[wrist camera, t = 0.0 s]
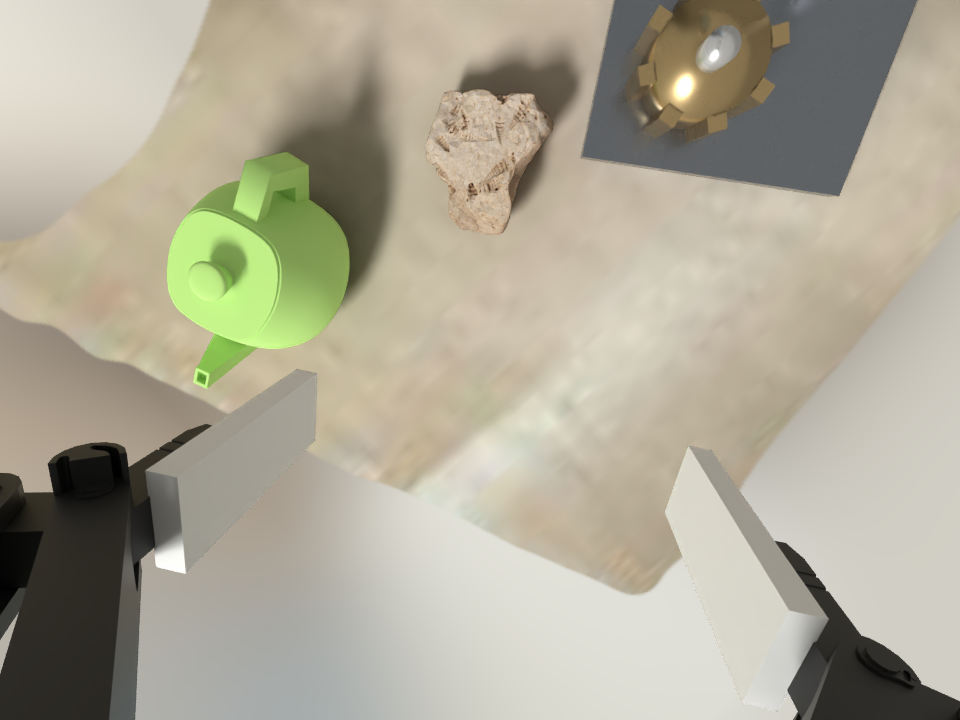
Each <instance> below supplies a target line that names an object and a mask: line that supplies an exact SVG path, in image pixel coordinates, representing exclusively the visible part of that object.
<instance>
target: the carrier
mask: <svg viewBox="0 0 960 720" xmlns="http://www.w3.org/2000/svg"><path fill="white" fill-rule="evenodd" d="M916 1H917V0H614V1H613V6H612V11H611V15H610V20H609V25H608V30H607V34H606V39H605V44H604V49H603V54H602V58H601V63H600V68H599V73H598V77H597V82H596V87H595V92H594V97H593V101H592V106H591V111H590V116H589V120H588V125H587V130H586V135H585V140H584V144H583V149H582V154H581V159H588V160H594V161H601V162H607V163H614V164H620V165H627V166H633V167H640V168H646V169H653V170H659V171H666V172H672V173H679V174H685V175H692V176H698V177H705V178H711V179H718V180H724V181H730V182H737V183H743V184H750V185H756V186H763V187H769V188H776V189H782V190H789V191H795V192H802V193H808V194H815V195H821V196H839V195H840V193H841V190H842V188H843V185H844V183H845V180H846V177H847V175H848V172H849V170H850V167H851V165H852V162H853V160H854V157H855V155H856V152H857V150H858V147H859V145H860V142H861V140H862V137H863V135H864V132H865V130H866V127H867V125H868V122H869V120H870V117H871V115H872V112H873V110H874V107H875V105H876V102H877V99H878V97H879V94H880V92H881V89H882V87H883V84H884V82H885V79H886V77H887V74H888V72H889V69H890V67H891V64H892V62H893V59H894V57H895V54H896V52H897V49H898V47H899V44H900V42H901V39H902V37H903V34H904V32H905V29H906V27H907V24H908V21H909V19H910V16H911V14H912V11H913V9H914V6H915V4H916Z"/></svg>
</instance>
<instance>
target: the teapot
mask: <svg viewBox="0 0 960 720" xmlns="http://www.w3.org/2000/svg"><path fill="white" fill-rule="evenodd" d="M349 265H350V258H349V248H348V244H347V240H346V237H345V235H344V232H343V231H342V229H341V227H340V226H339V224H338V223H337V222H336V221H335V219H334V218H333V217H332V216H331V215H329V214H328V213H327V212H326V211H325V210H323V209H322V208H321V207H319V206H318V205H317V204H315V203H314V202H312V201H311V200H309V165H308V164H306V163H304V162H303V161H301V160H299V159H298V158H296V157H295V156H293V155H291V154H290V153H288V152H283V153H279V154H274V155H270V156H265V157H261V158H256V159H252V160H247V161H245V165H244V169H243V172H242V176H241V180H240V181H235V182H232V183H228V184H226V185H223V186H221V187H219V188H217V189H215V190H213V191H212V192H210V193H209V194H208V195H206V196H205V197H204V198H203V199H201V200H200V201H199V202H198V203H197V204H196V205H195V206H194V208H193V209H192V210H191V211H190V212H189V213H188V214H187V215H186V217H185V218H184V220H183V221H182V223H181V224H180V226H179V227H178V229H177V231H176V233H175V236H174V238H173V241H172V243H171V247H170V250H169V256H168V264H167V283H168V289H169V293H170V296H171V299H172V301H173V303H174V304H175V306H176V307H177V308H178V309H179V311H180V312H181V313H183V314H184V315H185V316H186V317H188V318H189V319H190V320H192V321H193V322H195V323H197V324H198V325H200V326H202V327H204V328H205V329H207V330H209V331H211V332H213V333H215V334H214V336H213V338H212V340H211V342H210V344H209V346H208V348H207V350H206V352H205V354H204V356H203V358H202V360H201V362H200V364H199V366H197V367H196V370H195V375H194V381H193V382H194V383H196V384H198V385H200V386H202V387H204V388H206V389H207V388H209V387H210V386H211V385H212V384H214V383H215V382H216V381H217V380H218V379H220V378H221V377H222V376H223V375H225V374H226V373H227V372H228V371H229V370H231V369H232V368H233V367H234V366H236V365H237V364H238V363H239V362H240V361H242V360H243V359H244V358H245V357H247V356H248V355H249V354H250V353H251V352H253V351H254V350H255V349H256V348H258V347H259V348H268V349H279V348H287V347H292V346H295V345H299V344H302V343H304V342H306V341H308V340H310V339H312V338H314V337H315V336H316V335H318V334H319V333H320V332H321V331H322V330H323V329H324V328H325V327H326V326H327V325H328V324H329V322H330V321H331V320H332V319H333V317H334V315H335V314H336V312H337V311H338V309H339V307H340V304H341V302H342V300H343V297H344V294H345V292H346V288H347V283H348V277H349Z"/></svg>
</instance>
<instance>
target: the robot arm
mask: <svg viewBox="0 0 960 720" xmlns="http://www.w3.org/2000/svg"><path fill="white" fill-rule="evenodd" d="M316 397H317V373H314V372H309V371H304V370H299V369H296V370H295V371H293V372H292V373H290V374H289V375H287V376H286V377H284V378H283V379H281V380H280V381H278V382H277V383H275V384H274V385H272V386H271V387H269V388H268V389H266V390H265V391H263V392H262V393H260V394H259V395H257V396H256V397H254V398H253V399H251V400H250V401H249V402H247V403H246V404H244V405H243V406H241V407H240V408H238V409H237V410H235V411H234V412H232V413H231V414H229V415H228V416H226V417H225V418H223V419H222V420H220V421H219V422H217V423H216V424H214V425H208V424H204V425H202V426H199V427H196V428H193V429H190V430H187V431H185V432H184V433H182V434H181V435H179V436H177V437H176V438H175V439H173V440H172V441H171V442H168V443H166V444H165V445H163V446H162V447H160V449H159V450H155V451H154V452H152V453H150V454H149V455H147V456H146V457H144V458H143V459H141V460H140V461H138V462H137V463H135V464H133V465H132V466H130V467H128V460H127V453H126V450H125V448H124V447H123V446H121V445H119V444H115V443H108V442H101V443H90V444H85V445H80V446H76V447H73V448H70V449H68V450H65V451H63V452H61V453H59V454H58V455H56V456H54V457H53V458H52V459H51V460H50V462H49V463H48V467H49V472H50V477H51V482H52V487H53V492H52V493H51V492H49V493H47V492H45V493H44V492H43V493H24V490H23V486H22V482H21V480H20V478H19V476H16V475H13V474H10V473H0V639H1V638H2V636H3V635H4V633H5V632H6V630H7V629H8V627H9V626H10V624H11V622H12V621H13V620H14V618H15V617H16V615H17V614H18V612H19V614H18V617H17V621H16V624H15V627H14V631H13V634H12V637H11V640H10V644H9V647H8V650H7V654H6V657H5V660H4V663H3V667H2V670H1V673H0V720H135V710H136V686H137V665H138V643H139V642H138V641H139V621H140V620H139V619H140V599H141V577H142V569H141V559H142V558H143V557H144V556H145V555H146V554H147V553H148V552H150V551H151V550H152V549H153V548H154V551H155V560H156V567H159V568H163V569H167V570H172V571H176V572H180V573H187V572H188V571H189V570H190V569H191V568H192V567H193V566H194V565H195V564H196V563H197V562H198V561H199V559H201V558H202V557H203V556H204V554H205V553H206V552H207V551H208V550H209V549H210V548H211V547H212V546H213V545H214V544H215V543H216V542H217V541H218V540H219V539H220V538H221V537H222V536H223V535H224V533H226V532H227V530H229V529H230V528H231V526H233V525H234V523H235V522H236V521H237V520H238V519H239V518H240V517H241V516H242V515H243V514H244V513H245V512H246V511H247V510H248V509H249V508H250V507H251V506H252V505H253V504H254V503H255V502H256V501H257V500H258V499H259V498H260V497H261V496H262V494H263V493H264V492H265V491H266V490H267V489H268V488H269V487H270V486H271V485H272V484H273V483H274V482H275V481H276V480H277V479H278V478H279V477H280V476H281V475H282V474H283V473H284V472H285V470H287V469H288V468H289V466H291V465H292V463H293V462H294V461H295V460H296V459H297V458H298V457H299V456H300V455H301V454H302V453H303V452H304V451H305V450H306V449H307V448H308V447H309V446H310V445H311V444H312V443H313V442H314V441H315V427H316ZM665 514H666V516H667V519H668V521H669V524H670V526H671V529H672V531H673V534H674V536H675V539H676V541H677V544H678V546H679V549H680V551H681V554H682V556H683V559H684V561H685V564H686V566H687V569H688V571H689V574H690V576H691V579H692V581H693V584H694V585H695V589H696V591H697V594H698V596H699V598H700V601H701V603H702V606H703V608H704V611H705V613H706V616H707V618H708V621H709V623H710V626H711V628H712V631H713V633H714V636H715V638H716V641H717V643H718V646H719V648H720V651H721V653H722V656H723V658H724V661H725V663H726V666H727V668H728V671H729V673H730V676H731V678H732V680H733V683H734V685H735V688H736V690H737V693H738V695H739V698H740V700H741V703H742V704H747V705H751V706H755V707H759V708H764V709H768V710H773V711H776V712H777V711H778V710H779V708H780V706H781V704H782V703H783V701H784V699H785V697H786V695H787V693H789V695H790V697H791V699H792V701H793V702H794V704H795V706H796V708H797V710H798V713H797V714H796V716H795V718H794V719H793V720H960V701H958V700H956V699H954V698H951V697H949V696H947V695H945V694H942V693H940V692H938V691H935V690H933V689H931V688H929V687H927V686H924V685H922V684H921V681H920V680H919V678H918V677H917V675H916V674H915V673H914V671H913V670H912V669H911V668H910V666H908V665H907V664H906V663H905V662H904V661H903V660H902V659H901V658H900V657H899V656H898V655H896V654H894V653H893V652H892V651H891V650H889V649H887V648H886V647H885V646H883V645H882V644H880V643H878V642H876V641H874V640H872V639H870V638H867V637H864V636H861V635H860V633H859V632H858V631H857V629H856V628H855V627H854V625H853V624H852V622H851V621H850V620H849V618H848V617H847V616H846V614H845V613H844V612H843V610H842V609H841V608H840V606H839V605H838V604H837V602H836V601H835V600H834V598H833V597H832V596H831V594H830V593H829V592H828V591H826V588H825V586H824V585H823V584H822V582H821V581H820V580H819V578H816V574H815V573H814V571H813V570H812V569H811V567H810V566H809V565H808V563H807V562H806V561H805V559H804V558H803V557H801V556H800V555H799V554H798V553H796V551H794V550H793V549H792V548H791V547H789V545H787V544H786V543H783V542H777V541H774V540H773V538H772V537H771V535H770V534H769V532H768V531H767V529H766V528H765V527H764V525H763V524H762V522H761V521H760V519H759V518H758V517H757V515H756V514H755V512H754V511H753V509H752V508H751V507H750V505H749V504H748V502H747V501H746V499H745V498H744V496H743V495H742V493H741V492H740V491H739V489H738V488H737V486H736V485H735V483H734V482H733V481H732V479H731V478H730V476H729V475H728V473H727V472H726V470H725V469H724V468H723V466H722V465H721V463H720V462H719V460H718V459H717V458H716V456H715V455H714V453H713V452H712V450H707V449H702V448H697V447H692V446H688V448H687V451H686V454H685V457H684V460H683V462H682V465H681V468H680V471H679V474H678V477H677V479H676V482H675V485H674V488H673V491H672V494H671V496H670V499H669V502H668V505H667V508H666V511H665Z"/></svg>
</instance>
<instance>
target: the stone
mask: <svg viewBox="0 0 960 720" xmlns="http://www.w3.org/2000/svg"><path fill="white" fill-rule="evenodd" d="M552 130H553V121H552V120H551V119H550V117H549V116H548V115H547V113H546V112H545V111H543V110H542V109H541V108H540V107H539V105H538V102H537V101H536V98H535V95H534V93H521V94H518V93H511V94H509V95H507V96H506V95H503V96H502V95H500V94H499V95H496V96H495V95H494V94H493V92H490V91H487V90H482V89H476V90H470V91H467V92H464V93H461V92H459V91H448V92H445V93H444V95H443V97H442V100H441V103H440V107H439V110H438V113H437V116H436V118H435V120H434V122H433V124H432V127H431V130H430V134H429V137H428V140H427V143H426V159H427V161H428V162H429V163H431V164H432V165H433V164H435V165H436V171H437V173H438V175H439V176H440V177H441V179H442V180H443V181H445V182H446V183H447V184H449V185H448V187H449V192H450V196H449V214H450V217H451V218H452V219H453V220H454V222H455V223H456V224H457V225H458V226H459V227H460V228H461V229H464V230H472V231H479V232H482V233H484V234H501V233H503V232H504V230H505V229H506V227H507V225H508V222H509V219H510V214H511V208H512V202H513V200H514V197H515V194H516V188H517V186H518V184H519V180H520V178H521V176H522V175H523V173H524V171H525V169H526V167H527V164H528V163H529V162H530V161H531V160H532V158H533V157H534V155H535V153H536V152H537V151H538V149H539V148H540V147H541V145H542V143H543V141H544V140H545V138H546V137H547V136H548V135H549V133H550V132H551V131H552Z"/></svg>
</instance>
